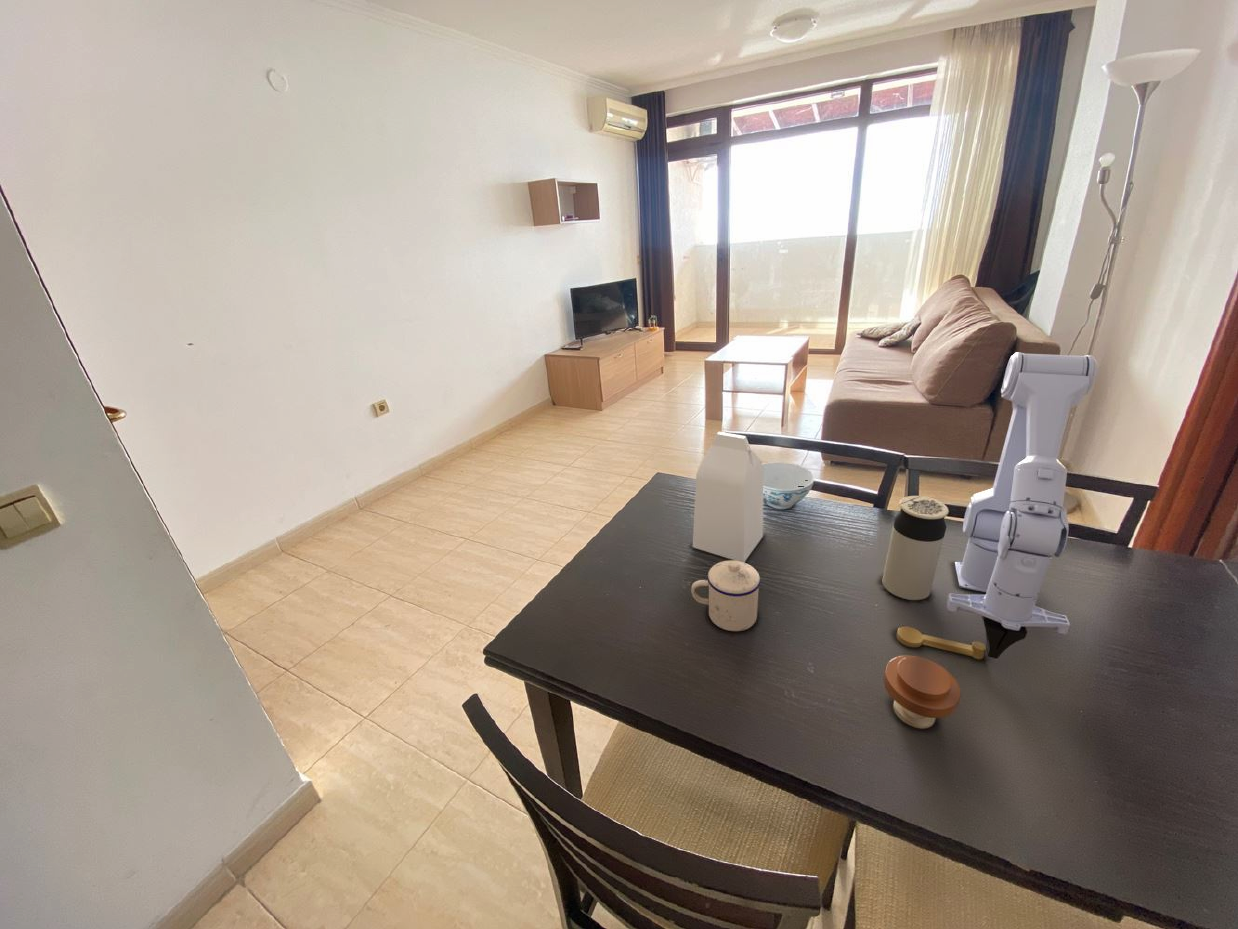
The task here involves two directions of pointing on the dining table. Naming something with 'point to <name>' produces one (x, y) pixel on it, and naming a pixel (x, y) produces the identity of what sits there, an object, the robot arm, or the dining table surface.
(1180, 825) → the dining table surface
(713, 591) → the teacup with lid
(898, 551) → the travel mug
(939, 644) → the spoon
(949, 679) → the mushroom
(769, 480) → the chinaware
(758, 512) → the milk
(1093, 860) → the dining table surface
